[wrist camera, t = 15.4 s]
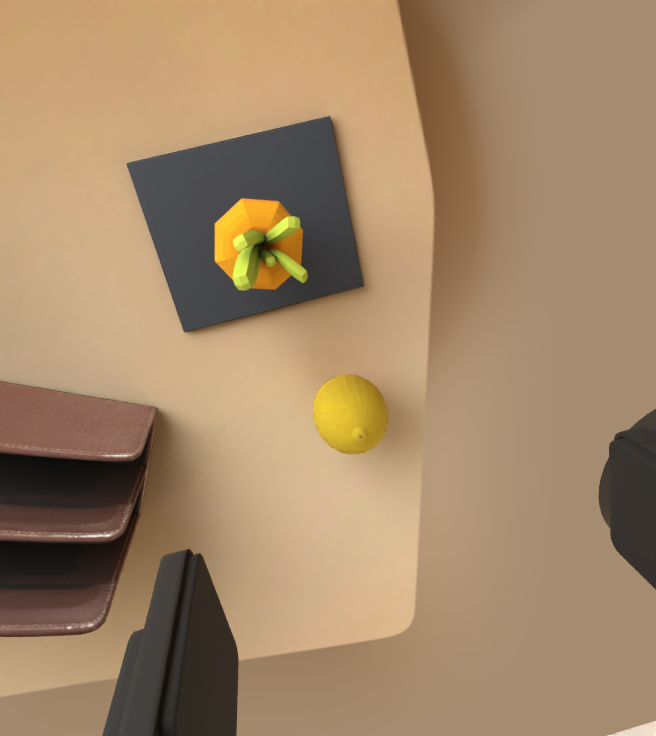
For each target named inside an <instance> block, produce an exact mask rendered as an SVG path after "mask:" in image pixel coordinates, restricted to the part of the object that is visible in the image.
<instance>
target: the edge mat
mask: <svg viewBox="0 0 656 736" xmlns="http://www.w3.org/2000/svg"><path fill="white" fill-rule="evenodd" d="M127 167H128V169H129V172H130V175H131V178H132V181H133V184H134V187H135V190H136V193H137V196H138V199H139V202H140V204H141V207H142V210H143V213H144V216H145V219H146V222H147V225H148V228H149V231H150V234H151V237H152V239H153V242H154V245H155V248H156V251H157V254H158V257H159V260H160V263H161V266H162V269H163V272H164V275H165V277H166V280H167V283H168V286H169V289H170V292H171V295H172V298H173V301H174V304H175V307H176V310H177V312H178V315H179V318H180V321H181V324H182V327H183V330H184V332H187V331H191V330H195V329H199V328H203V327H207V326H211V325H215V324H219V323H223V322H226V321H230V320H234V319H238V318H242V317H246V316H250V315H254V314H258V313H262V312H265V311H269V310H273V309H277V308H281V307H285V306H289V305H293V304H297V303H301V302H304V301H308V300H312V299H316V298H320V297H324V296H328V295H332V294H336V293H340V292H344V291H347V290H351V289H355V288H359V287H363V286H364V284H363V279H362V274H361V269H360V264H359V259H358V254H357V249H356V244H355V239H354V234H353V229H352V224H351V219H350V214H349V209H348V204H347V198H346V193H345V188H344V183H343V178H342V173H341V168H340V163H339V158H338V153H337V148H336V143H335V138H334V133H333V128H332V123H331V118H330V116H328V117H324V118H320V119H315V120H311V121H307V122H302V123H298V124H294V125H289V126H285V127H281V128H277V129H272V130H268V131H264V132H259V133H255V134H251V135H246V136H242V137H238V138H233V139H229V140H225V141H221V142H216V143H212V144H208V145H203V146H199V147H195V148H190V149H186V150H182V151H177V152H173V153H169V154H164V155H160V156H156V157H152V158H147V159H143V160H139V161H134V162H130V163H127ZM242 198H243V199H257V200H270V201H279V202H280V203H281V204H282V206H283V207H284V208H285V209H286V210H287V211H288V213H289V214H290V215H291V216H295V217H298V218H299V220H300V227H301V228H302V229H303V240H302V258H301V266H302V267H303V268H304V269H305V270H306V271H307V273H308V278H307V280H306V282H304V283H302V282H300V281H299V280H297V279H296V278H295V277H293V276H292V275H291V276H290V277H289V278H288V279H286V280H285V281H284V282H283V283H282V284H281V285H280V286H279V287H278V288H276V289H275V290H274V289H252V288H250V289H248V290H238V288H237V287H236V286H235V284H234V281H233V280H232V279H231V278H230V277H229V276H228V275H227V274H226V273H225V271H224V270H223V269H222V268H221V267H220V266H219V265H218V264H217V263H216V262H215V223H216V222H217V221H218V220H219V219H220V218H221V217H222V216H224V215H225V214H226V213H227V212H228V211H229V210H230V209H231V208H232V207H233V206H234V205H235V204H236V203H237V202H238V201H239V200H240V199H242Z"/></svg>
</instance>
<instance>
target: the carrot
mask: <svg viewBox="0 0 656 736" xmlns="http://www.w3.org/2000/svg"><path fill="white" fill-rule="evenodd" d="M302 240H303V229H302V228H301V227H300V220H299V218H298V217H295V216H291V215H290V214H289V213H288V211H287V210H286V209H285V208H284V207H283V206H282V204H281V203H280V202H279V201H270V200H257V199H243V198H242V199H240V200H239V201H238V202H237V203H236V204H235V205H234V206H233V207H232V208H231V209H230V210H229V211H228V212H227V213H226V214H225V215H224V216H222V217H221V218H220V219H219V220H218V221H217V222H216V223H215V262H216V263H217V264H218V265H219V266H220V267H221V268H222V269H223V270H224V271H225V273H226V274H227V275H228V276H229V277H230V278H231V279H232V280H233V281H234V284H235V286H236V287H237V288H238V290H248V289H250V288H252V289H274V290H275V289H276V288H278V287H279V286H280V285H281V284H282V283H283V282H284V281H285V280H286V279H288V278H289V277H290V276H291V275H292V276H293V277H295V278H296V279H297V280H299V281H300V282H302V283H304V282H306V280H307V278H308V273H307V271H306V270H305V269H304V268H303V267H302V266H301V258H302Z"/></svg>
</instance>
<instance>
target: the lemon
mask: <svg viewBox="0 0 656 736" xmlns="http://www.w3.org/2000/svg"><path fill="white" fill-rule="evenodd" d="M313 418H314V422H315V426H316V428H317V430H318V432H319V434H320V435H321V437H322V438H323V440H324V441H326V442H327V443H328V444H329V445H330V446H331V447H332V448H334V449H336V450H337V451H339V452H342V453H346V454H359V453H364V452H366V451H368V450H371V449H372V448H373V447H375V446H376V445H377V444H378V443H379V442H380V441H381V439H382V438H383V436H384V434H385V432H386V428H387V424H388V413H387V407H386V404H385V401H384V398H383V396H382V395H381V393H380V392H379V390H378V389H377V387H375V386H374V385H373V384H372V383H371V382H369V381H368V380H366V379H364V378H362V377H360V376H356V375H341V376H337V377H334V378H332V379H331V380H329V381H327V382H326V383H325V384H324V385H323V386H322V387H321V388H320V390H319V392H318V393H317V395H316V398H315V401H314V405H313Z"/></svg>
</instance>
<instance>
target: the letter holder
mask: <svg viewBox="0 0 656 736" xmlns="http://www.w3.org/2000/svg"><path fill="white" fill-rule="evenodd" d="M157 411H158V409H157V408H156V407H150V406H144V405H138V404H131V403H127V402H119V401H114V400H108V399H101V398H95V397H89V396H84V395H77V394H71V393H66V392H59V391H53V390H48V389H40V388H36V387H30V386H23V385H17V384H11V383H5V382H0V637H39V636H63V635H81V634H86V633H90V632H92V631H95V630H97V629H98V628H100V627H101V626H102V625H103V624H104V622H105V621H106V619H107V616H108V613H109V611H110V608H111V604H112V600H113V597H114V594H115V591H116V588H117V584H118V581H119V578H120V575H121V572H122V569H123V566H124V563H125V560H126V557H127V554H128V551H129V548H130V545H131V542H132V539H133V536H134V533H135V530H136V526H137V524H138V521H139V518H140V516H141V510H142V503H143V497H144V492H145V487H146V480H147V475H148V469H149V463H150V456H151V451H152V445H153V438H154V432H155V425H156V419H157Z"/></svg>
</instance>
